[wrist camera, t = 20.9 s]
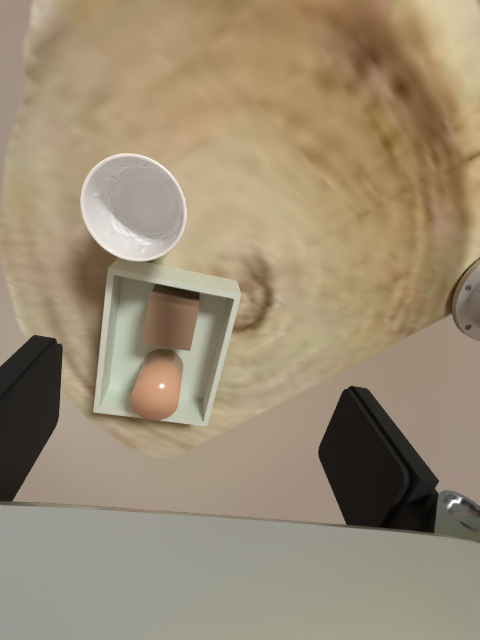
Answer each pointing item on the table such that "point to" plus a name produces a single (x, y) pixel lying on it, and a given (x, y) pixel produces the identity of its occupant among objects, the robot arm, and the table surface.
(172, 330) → the cube
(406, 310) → the table surface
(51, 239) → the table surface
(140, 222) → the white cup
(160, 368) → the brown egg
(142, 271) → the tote
